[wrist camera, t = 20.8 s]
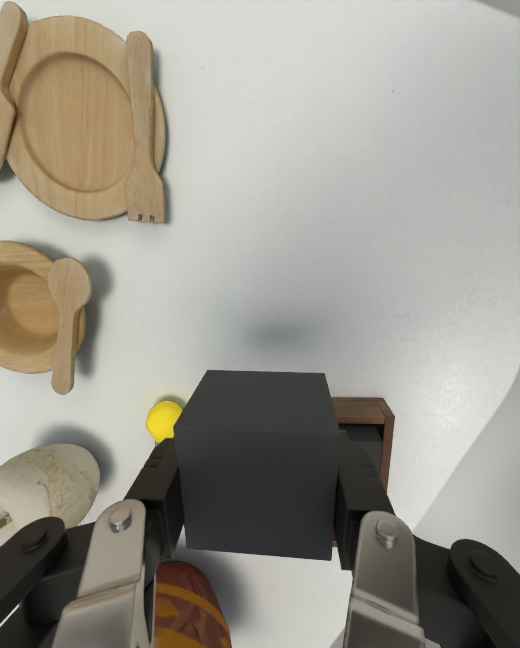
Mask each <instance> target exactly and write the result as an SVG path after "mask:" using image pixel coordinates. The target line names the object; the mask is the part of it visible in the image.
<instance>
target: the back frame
mask: <svg viewBox="0 0 520 648" xmlns="http://www.w3.org/2000/svg"><path fill="white" fill-rule="evenodd" d="M331 400H332V403H333V407H334V411H335V415H336V418H337V422H338V423H353V424H374V426H375V428H376V430H377V432H378V434H379V436H380V438H381V440H382V442H383V444H382V455H381V466H380V479H381V481H382V484H383V486H384V489H385V491H386V494H387V486H388V476H389V467H390V458H391V448H392V439H393V429H394V420H395V416H394V414H393V413H392V411H391V409H390V408H389V406H388V405H387V403H386V402H385V400H384V398H331ZM332 547H337V542H336V537H335V531H334V532H333V546H332Z"/></svg>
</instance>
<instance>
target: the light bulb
mask: <svg viewBox="0 0 520 648" xmlns="http://www.w3.org/2000/svg"><path fill="white" fill-rule="evenodd" d="M182 411H183V410H182V409H181V408H180V407H179V405H178V404H177V403H174V402H171V401H163V402H159V403H157V404H156V405H155V406H154V407H153V408H152V409H150V410H149V412H148V415H147V421H146V427H147V429H148V430H149V432H150V433H151V435H152V436H153V438H154V439H155V445H156V446H157V445H158V444H159V443H160V442H161V441H163V440H164V439H165V438H173V437H174V430H173V426H174V424H175V423H176V421H177V419H178V418H179V416H180V414H181V413H182Z"/></svg>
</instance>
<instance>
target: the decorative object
mask: <svg viewBox="0 0 520 648" xmlns="http://www.w3.org/2000/svg"><path fill="white" fill-rule="evenodd" d="M99 484H100V470H99V466H98V464H97V462H96V460H95V458H94V457H93V455H92V454H91V453H90V452H89V451H88V450H86V449H84V448H83V447H81V446H78V445H75V444H67V443H61V444H49V445H44V446H39V447H36V448H34V449H31V450H28V451H26V452H23V453H21V454H19V455H17V456H15V457H13V458H11V459H10V460H8V461H7V462H6V463H4V464H3V465H2V466H1V467H0V545H1V546H2V545H3V544H4V543H5V542H6V541H7V540H8V539H10V538H11V537H12V536H13V535H14V534H15V533H16V532H18V531H19V530H20V529H21V528H23V527H24V526H26V525H28V524H29V523H31V522H33V521H35V520H38V519H41V518H44V517H50V516H53V517H59V518H61V519H62V520H63V522H64V524H65V528H66V529H68V528H72V527H76V526H77V525H78V524H79V523H80V522H81V521H82V520H83V518H84V517H85V516H86V514H87V513H88V512H89V510H90V508H91V506H92V505H93V502H94V500H95V498H96V495H97V492H98V488H99Z"/></svg>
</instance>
